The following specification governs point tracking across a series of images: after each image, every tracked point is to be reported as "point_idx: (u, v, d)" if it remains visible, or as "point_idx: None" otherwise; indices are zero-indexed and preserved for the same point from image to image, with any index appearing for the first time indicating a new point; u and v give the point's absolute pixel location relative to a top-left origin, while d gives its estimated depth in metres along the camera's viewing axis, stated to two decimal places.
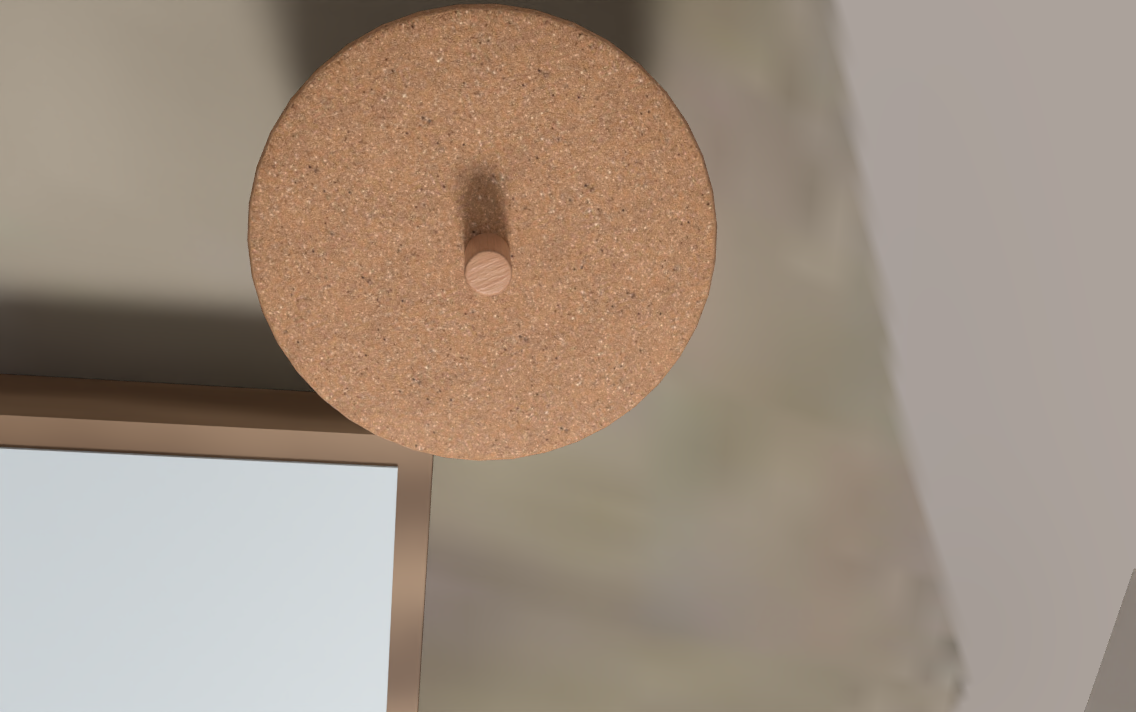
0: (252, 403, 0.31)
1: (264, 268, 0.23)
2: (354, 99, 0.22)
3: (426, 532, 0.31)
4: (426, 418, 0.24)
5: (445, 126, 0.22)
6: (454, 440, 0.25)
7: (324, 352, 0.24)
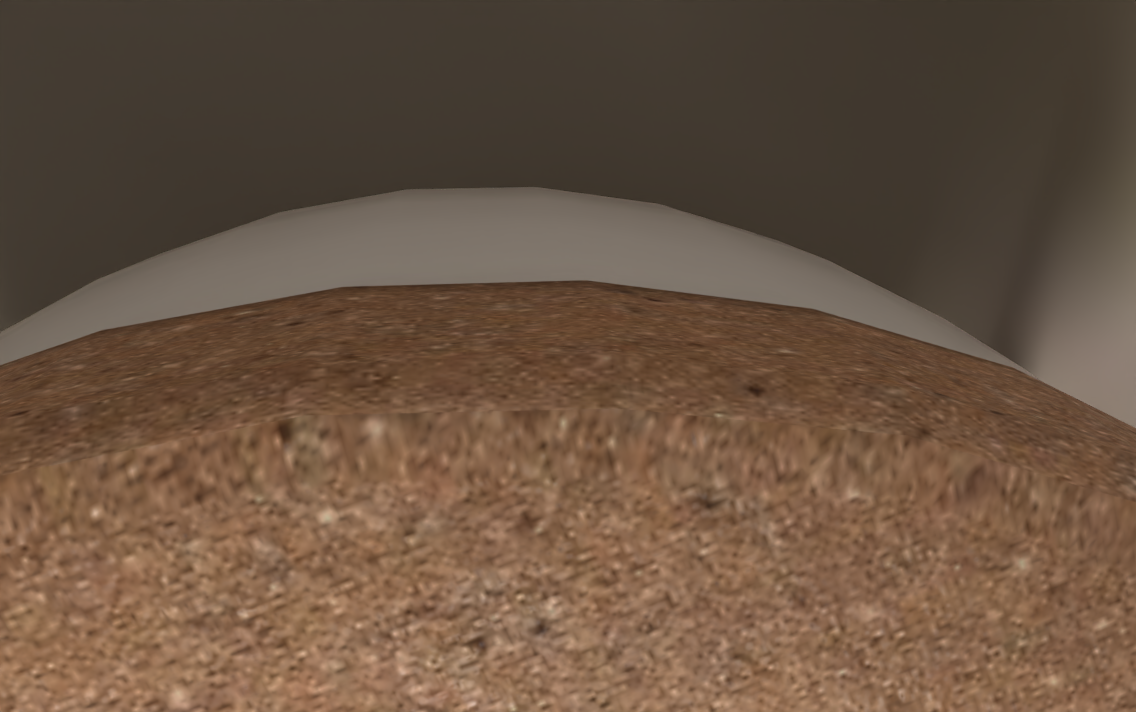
0: None
1: None
2: None
3: None
4: None
5: None
6: None
7: None
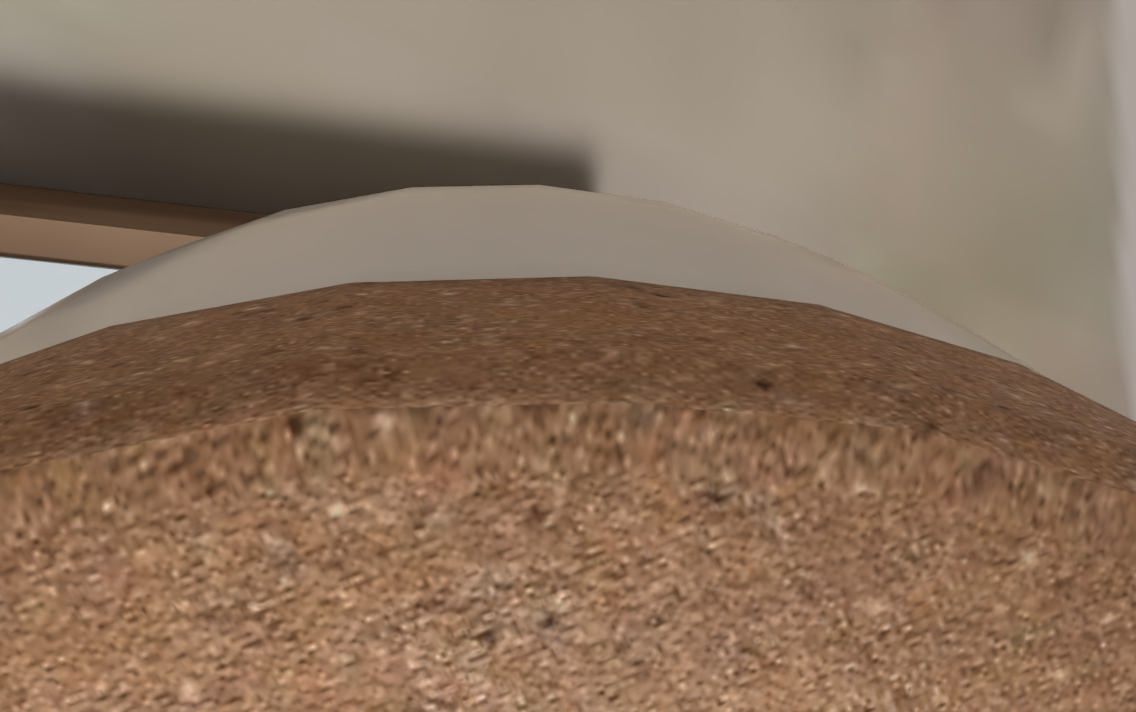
0: None
1: None
2: None
3: None
4: None
5: None
6: None
7: None
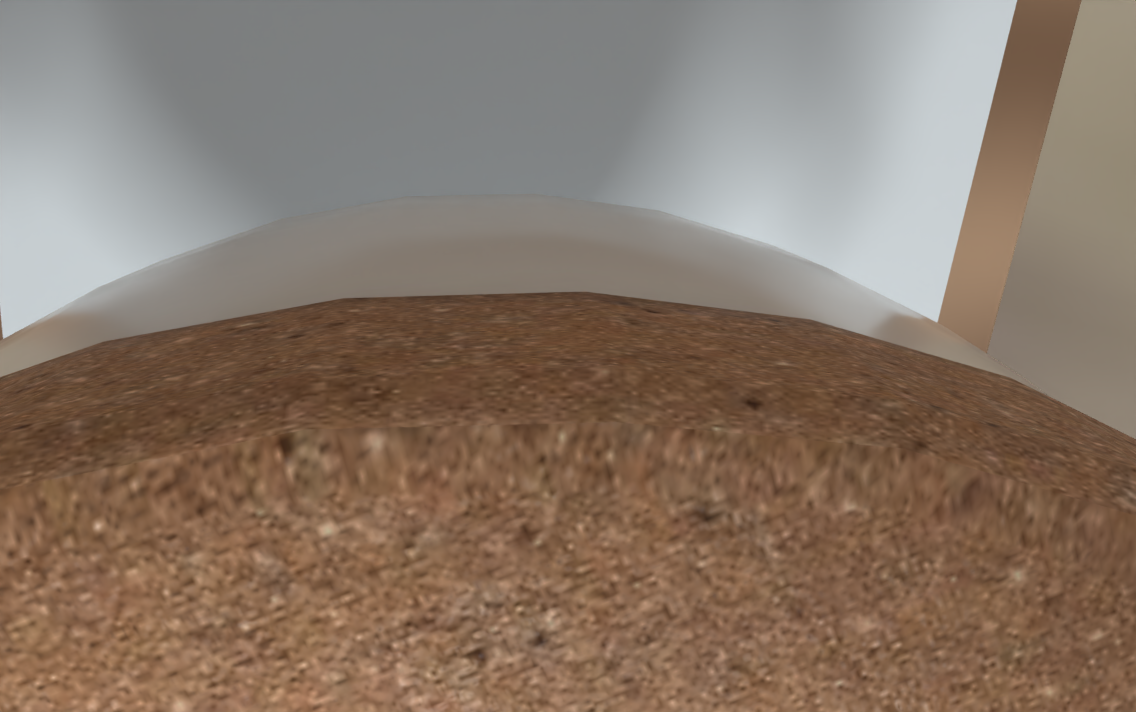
0: None
1: None
2: None
3: (1042, 137, 0.15)
4: None
5: None
6: None
7: None
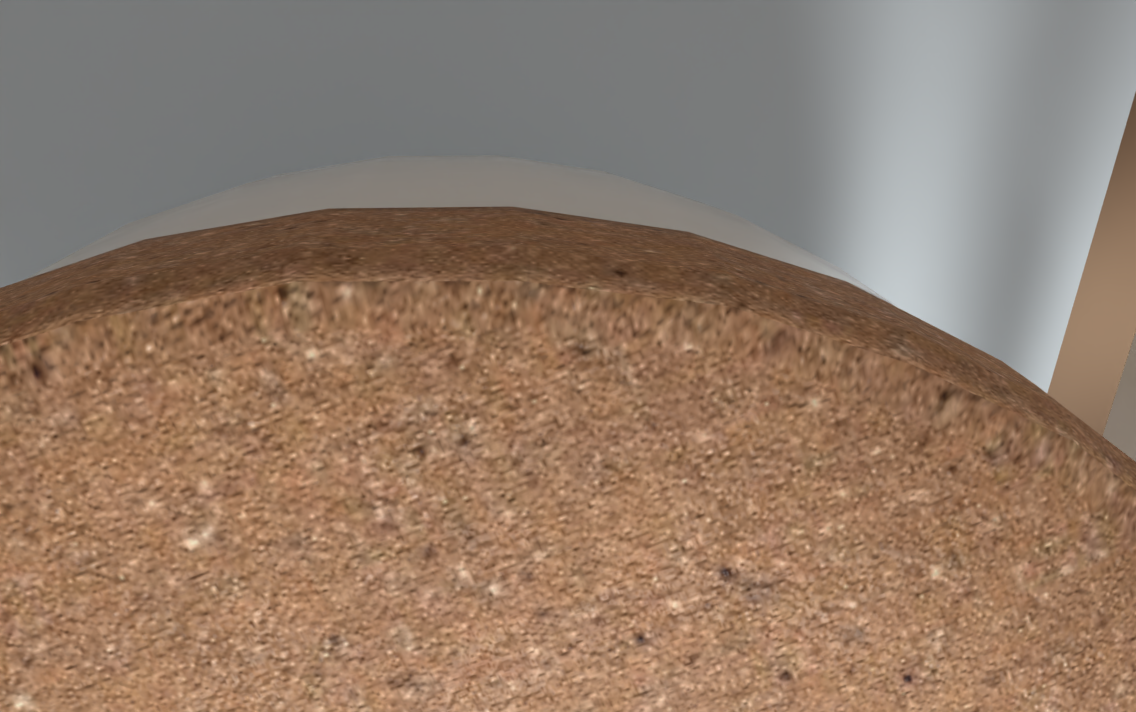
0: None
1: None
2: None
3: None
4: None
5: None
6: None
7: None
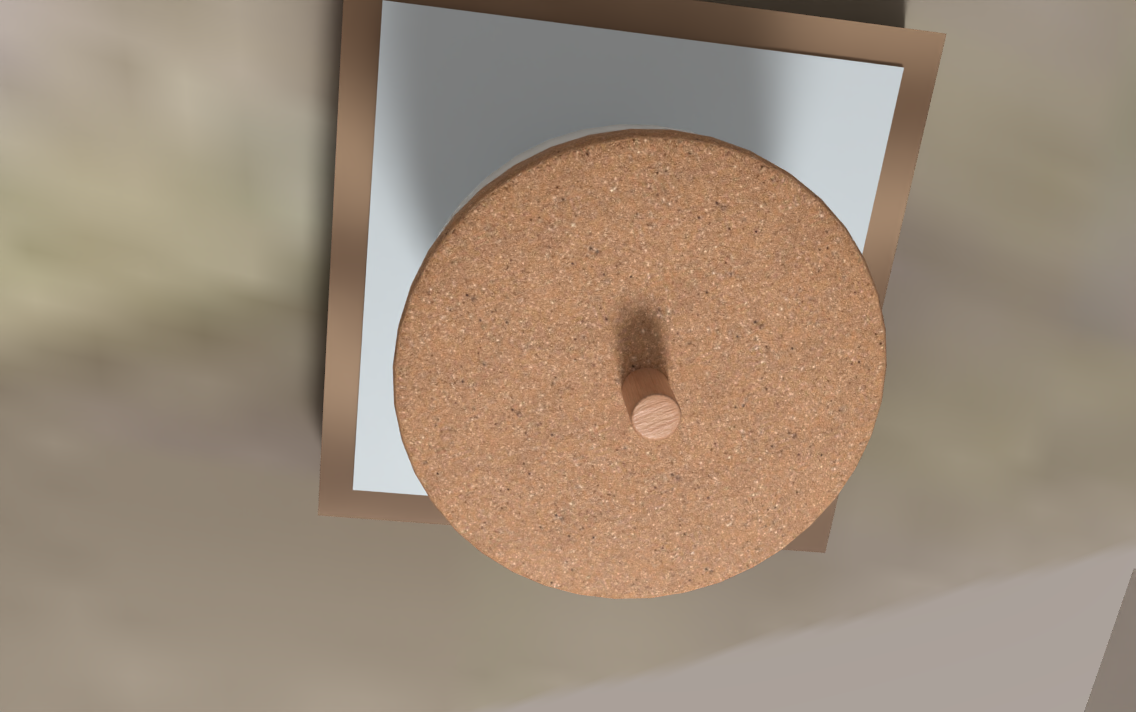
0: None
1: (409, 397, 0.21)
2: (520, 227, 0.20)
3: (917, 151, 0.28)
4: (565, 555, 0.23)
5: (613, 257, 0.21)
6: (592, 578, 0.23)
7: (464, 485, 0.22)
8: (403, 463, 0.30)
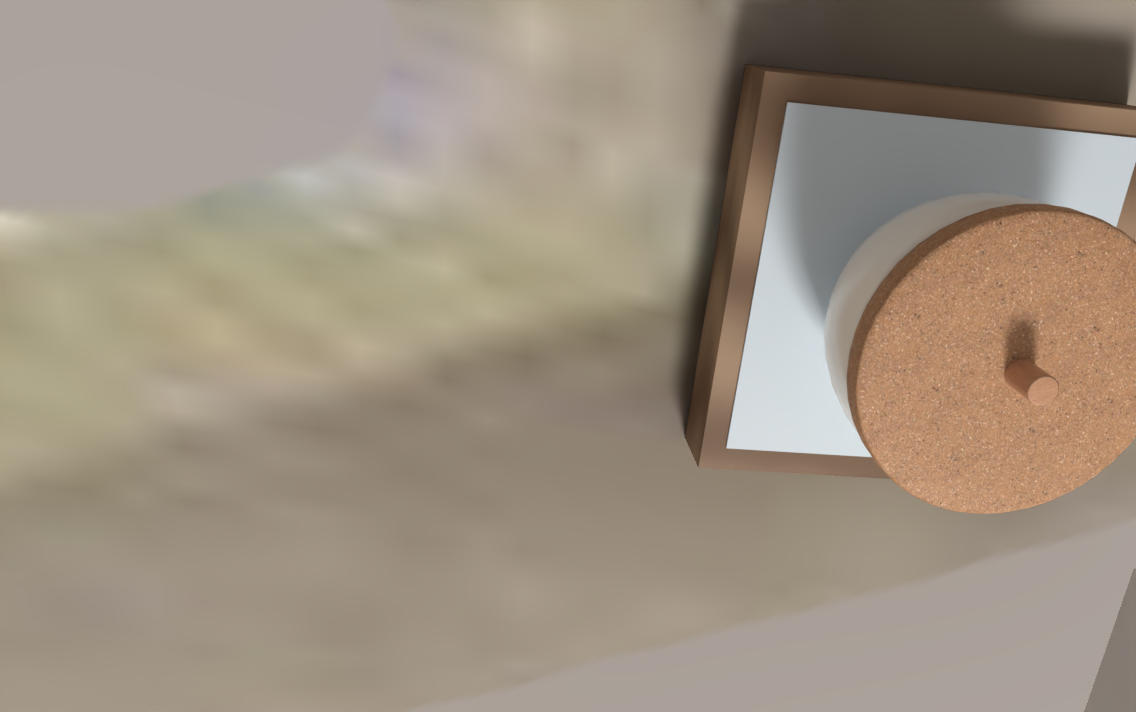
0: (1014, 94, 0.40)
1: (867, 381, 0.33)
2: (954, 270, 0.32)
3: None
4: (953, 484, 0.34)
5: (1010, 288, 0.32)
6: (968, 499, 0.35)
7: (895, 438, 0.33)
8: (763, 428, 0.42)
